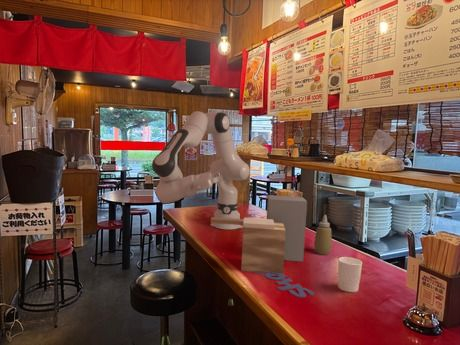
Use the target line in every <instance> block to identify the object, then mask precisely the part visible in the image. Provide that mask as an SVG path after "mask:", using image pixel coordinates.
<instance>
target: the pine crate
mask: <svg viewBox="0 0 460 345" xmlns="http://www.w3.org/2000/svg"><path fill="white" fill-rule="evenodd" d="M274 224H275V229H267V228H252V227H243V234H242V249H241V250H242V251H241V265H240V266H241V267H240V268H241V269H240V270H241V272H251V271H257V272H263V273H264V274H265V273H266V272H273V273H282V274H284V265H285V264H284V262H285V260H284V250H285V234H286V230H285V227H284V225H283V223H274Z"/></svg>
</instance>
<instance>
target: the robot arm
mask: <svg viewBox="0 0 460 345" xmlns="http://www.w3.org/2000/svg"><path fill="white" fill-rule="evenodd" d="M230 126H231V120H230V117H229V115H227V113H226V112H215V111H214V112H212V111H211V112H210V111H209V112H202V111H199V110H198V111H197V110H196V111H193V112H192V113H191V114H190V115H189V116H188V118H186V120H185V122H184V124H183V126H182V127H181V128H180V129H177V131H176V132H175V133H173V135H172V136H171V138H170V139H169V141H168V142H167V143H166V145H164V147H163V149H162V150H161V151H160V152H159V153H158V154H157V155H156V156H155V157H154V159H153V160H152V163H151V169H152V171H153V172H154V173H155V174H156V175H157V176H158V177H159V181H158V182H159V183H158V184H157V186H156V187H155V188H154V193H155V196H156V198H157V200H158V202H160V203H161V204H164V205H165V204H171V203H174V202H177V201H179V200H181V199H183V198H190V197H193V196H195V195H196V196H197V195H199V192H201V191H204V190H207V189H211V188H212V187H213V185H214V184H216V185H217V188H218V199H217V200H218V202H217V205H216V206H217V207H216V208H217V209H216V211H214V215H213V216H214V217H218V218H234V219H241V218H240V212H239V211H238V208H239V205H238V189H237V188H236V187H235V185H233V183H232V181H237V182H238V181H245V180H247V179H248V178H249V176H250V173H251V168H250V166H249V164H247V163H246V162H245V161H244V160H242V157H241V156H240V155H239V154H238V152H237V150H236V148H235V142H234V140H233V135H232V132H231V128H230ZM204 135H211V140H212V145H213V147H214V151H215V155H217V157H218V158H219V160H214V161H212V162H211V164H210V165H209V172H207V171H206V172H203V173H198V174H196V175H195V174H190V175H187V176H183V173H182V171H181V168H180V167H179V165H178V164H177V161H176V157H177V154H178V153H179V152H180V151H181V149H182V147H183V146H184V147H187V148H195V147H197V146H199V145H200V143H201V142H202V140H203V138H204ZM210 226H211V227H213V228H217V229H221V230H237V229H244V227H243V225H234V224H219V223H211V222H210Z"/></svg>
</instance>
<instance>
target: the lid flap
mask: <svg viewBox="0 0 460 345" xmlns="http://www.w3.org/2000/svg"><path fill="white" fill-rule="evenodd" d="M211 223H219V224H234V225H242V227H243V228H244V227H252V228H267V229H275V224H274V221H273V219H267V218H258V217H257V218H255V217H243V218H240V219H234V218H218V217H213V216H211V218H210V224H211Z"/></svg>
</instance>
